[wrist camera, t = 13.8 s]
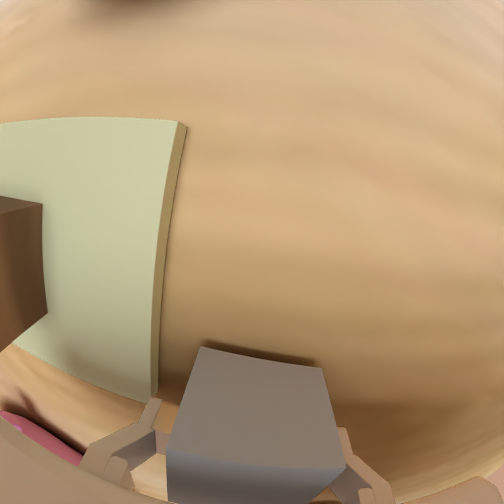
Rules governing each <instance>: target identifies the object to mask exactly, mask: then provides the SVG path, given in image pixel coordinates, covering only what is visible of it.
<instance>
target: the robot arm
mask: <svg viewBox="0 0 504 504" xmlns="http://www.w3.org/2000/svg"><path fill="white" fill-rule="evenodd" d="M179 407H180V405H178V404H175V403H172V402H168V401H165V400H162V399H159V398H156V397H153V396H151V397H150V398H149V400H148V402H147V404H146V407H145V409H144V411H143V413H142V415H141V417H140V419H139V422H138V424H136V423H133V424H131V425H129V426H127V427H125V428H123V429H121V430H119V431H117V432H115V433H113V434H111V435H109V436H106V437H104V438H102V439H100V440H98V441H96V442H93V443H91V444H90V445H89V447H88V449H87V451H86V452H85V454H84V456H83V458H82V460H81V462H80V463H79V465H78V467H77V466H75V465H73V464H72V463H70V462H68V461H66V460H64V459H63V458H61V457H59V456H57V455H56V454H54V453H52V452H51V451H49V450H47V449H46V448H44V447H43V446H41V445H40V444H38V443H37V442H35V441H34V440H32V439H31V438H29V437H28V436H26V435H25V434H24V433H22V432H21V431H19V430H18V429H17V428H15V427H14V426H13V425H12V424H10V423H9V422H8V421H6V420H5V419H4V418H3V417H2V416H0V504H174V503H170V502H166V501H163V500H159V499H156V498H153V497H149V496H146V495H143V494H140V493H137V492H135V491H133V490H134V487H135V486H134V483H133V479H132V476H131V473H130V471H131V470H133V469H134V468H136V467H137V466H139V465H140V464H142V463H143V462H145V461H146V460H147V459H149V458H150V457H152V456H153V455H154V454H156V453H160V454H164V455H166V446H167V443H168V440H169V437H170V434H171V431H172V428H173V425H174V422H175V419H176V416H177V413H178V410H179ZM337 430H338V434H339V438H340V442H341V446H342V451H343V455H344V459H345V464H346V468H345V470H344V471H343V472H342V473H341V474H340V475H339V476H338V477H337V478H336V479H335V480H334V481H333V482H331V483H330V484H329V485H328V487H329V488H330V489H331V491H332V492H333V493H334V494H335V495H336V497H337V498H338V499H339V500H340V501H341V503H342V504H395V500H394V497H393V494H392V490H391V487H390V484H389V483H388V482H387V481H386V480H384V479H383V478H382V477H381V476H380V475H379V474H377V473H376V472H375V471H374V470H373V469H371V468H370V467H369V466H368V465H367V464H366V463H365V462H363V461H362V460H361V459H360V458H359V457H358V456H357V455H353V452H352V448H351V444H350V441H349V437H348V433H347V430H346V428H345V427H337ZM402 504H504V502H503V499H502V497H501V495H500V492H499V490H498V489H497V487H496V486H495V485H494V484H492V483H491V482H489V481H487V480H486V479H484V478H482V477H480V476H476V477H473V478H471V479H469V480H466V481H464V482H462V483H460V484H457V485H455V486H452V487H450V488H447V489H445V490H442V491H440V492H437V493H434V494H431V495H428V496H425V497H422V498H419V499H416V500H412V501H409V502H405V503H402Z"/></svg>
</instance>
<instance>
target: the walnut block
mask: <svg viewBox="0 0 504 504" xmlns="http://www.w3.org/2000/svg"><path fill="white" fill-rule="evenodd" d="M42 213H43V204H42V203H37V202H31V201H26V200H21V199H16V198H10V197H5V196H0V352H1V351H2V350H3V349H5V348H6V347H7V346H8V345H9V344H10V343H12V342H13V341H14V340H15V339H16V338H18V337H19V336H20V335H21V334H22V333H24V332H25V331H26V330H27V329H29V328H30V327H31V326H32V325H34V324H35V323H36V322H37V321H39V320H40V319H41V318H42V317H44V316H45V315H46V314H47V313H48V309H47V301H46V293H45V283H44V271H43V252H42Z"/></svg>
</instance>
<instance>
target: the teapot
mask: <svg viewBox="0 0 504 504" xmlns="http://www.w3.org/2000/svg"><path fill="white" fill-rule="evenodd" d="M0 416H2V417H3V418H4V419H5V420H6V421H8V422H9V423H10V424H12V425H13V426H14V427H15V428H17V429H18V430H19V431H21V432H22V433H24V434H25V435H26V436H28V437H29V438H31V439H32V440H34V441H35V442H37V443H38V444H40V445H41V446H43V447H44V448H46V449H47V450H49V451H51V452H52V453H54V454H56V455H57V456H59V457H61V458H63V459H64V460H66V461H68V462H70V463H72V464H73V465H75V466H77V467H78V465H79V463H80V462H81V460H82V458H83V456H82V455H81V454H80V453H78V452H77V451H75V450H73V449H71V448H70V447H69V446H67V445H66V444H64V443H63V442H62V441H60V440H59V439H57V438H56V437H54V436H53V435H52V434H50V433H49V432H47V431H45V430H44V429H42V428H41V427H39V426H38V425H36V424H34V423H33V422H31V421H29V420H28V419H26V418H24V417H22V416H19V415H16V414H11V413H9V412H6V411H0Z"/></svg>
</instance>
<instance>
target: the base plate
mask: <svg viewBox="0 0 504 504" xmlns="http://www.w3.org/2000/svg"><path fill="white" fill-rule="evenodd" d="M186 131H187V127H186V126H185V125H183V124H182V123H180V122H179V121H172V120H161V119H148V118H130V117H64V118H47V119H35V120H25V121H17V122H9V123H2V124H0V196H5V197H10V198H16V199H21V200H26V201H31V202H37V203H42V204H43V213H42V252H43V271H44V283H45V293H46V301H47V309H48V313H47V314H46V315H45V316H44V317H42V318H41V319H40V320H39V321H37V322H36V323H35V324H34V325H32V326H31V327H30V328H29V329H27V330H26V331H25V332H24V333H22V334H21V335H20V336H19V337H18V338H16V339H15V340H14V341H13V342H12V343H13V344H15V345H17V346H18V347H20V348H22V349H23V350H25V351H27V352H28V353H30V354H32V355H34V356H35V357H37V358H39V359H41V360H43V361H44V362H46V363H48V364H50V365H52V366H54V367H56V368H58V369H60V370H62V371H64V372H66V373H68V374H70V375H72V376H74V377H77V378H79V379H81V380H83V381H86V382H88V383H90V384H93V385H95V386H97V387H100V388H102V389H105V390H107V391H110V392H113V393H115V394H118V395H121V396H124V397H126V398H129V399H132V400H135V401H138V402H141V403H144V404H147V402H148V400H149V398H150V397H151V396H153V397H155V396H156V394H157V391H158V360H159V333H160V315H161V301H162V288H163V277H164V267H165V258H166V249H167V241H168V233H169V226H170V219H171V212H172V205H173V199H174V193H175V187H176V181H177V176H178V170H179V165H180V160H181V155H182V150H183V145H184V140H185V136H186Z"/></svg>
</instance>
